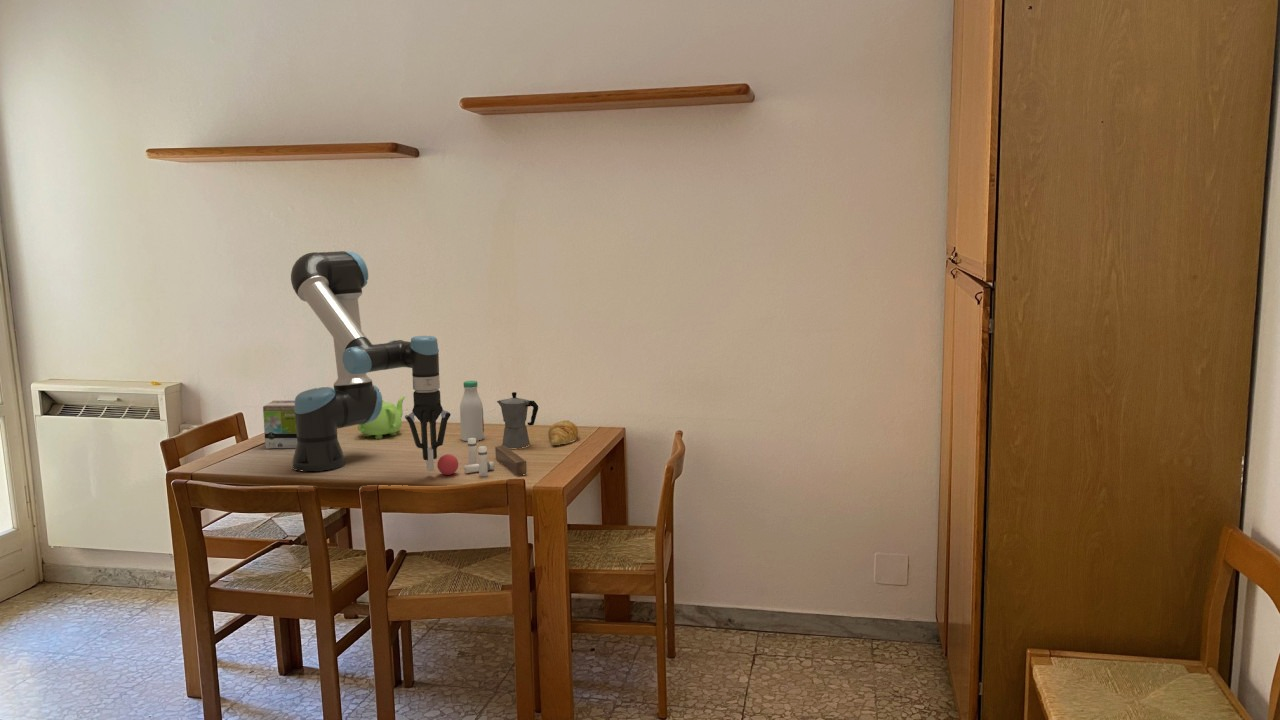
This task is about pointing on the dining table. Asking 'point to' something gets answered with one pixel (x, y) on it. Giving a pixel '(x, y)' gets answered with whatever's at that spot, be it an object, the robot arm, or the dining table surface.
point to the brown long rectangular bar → (511, 460)
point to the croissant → (562, 432)
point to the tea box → (280, 424)
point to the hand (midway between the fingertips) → (430, 470)
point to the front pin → (477, 467)
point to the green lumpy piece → (384, 421)
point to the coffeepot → (516, 421)
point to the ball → (447, 464)
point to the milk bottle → (471, 413)
